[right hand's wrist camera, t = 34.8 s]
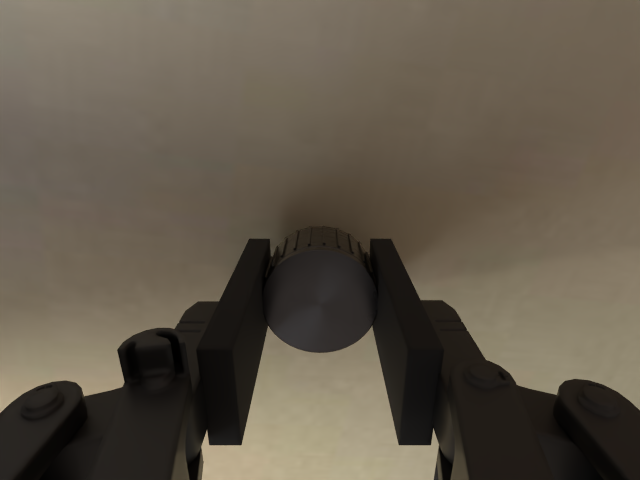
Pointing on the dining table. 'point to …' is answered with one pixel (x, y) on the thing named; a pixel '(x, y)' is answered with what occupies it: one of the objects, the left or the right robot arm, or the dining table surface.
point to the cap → (320, 290)
